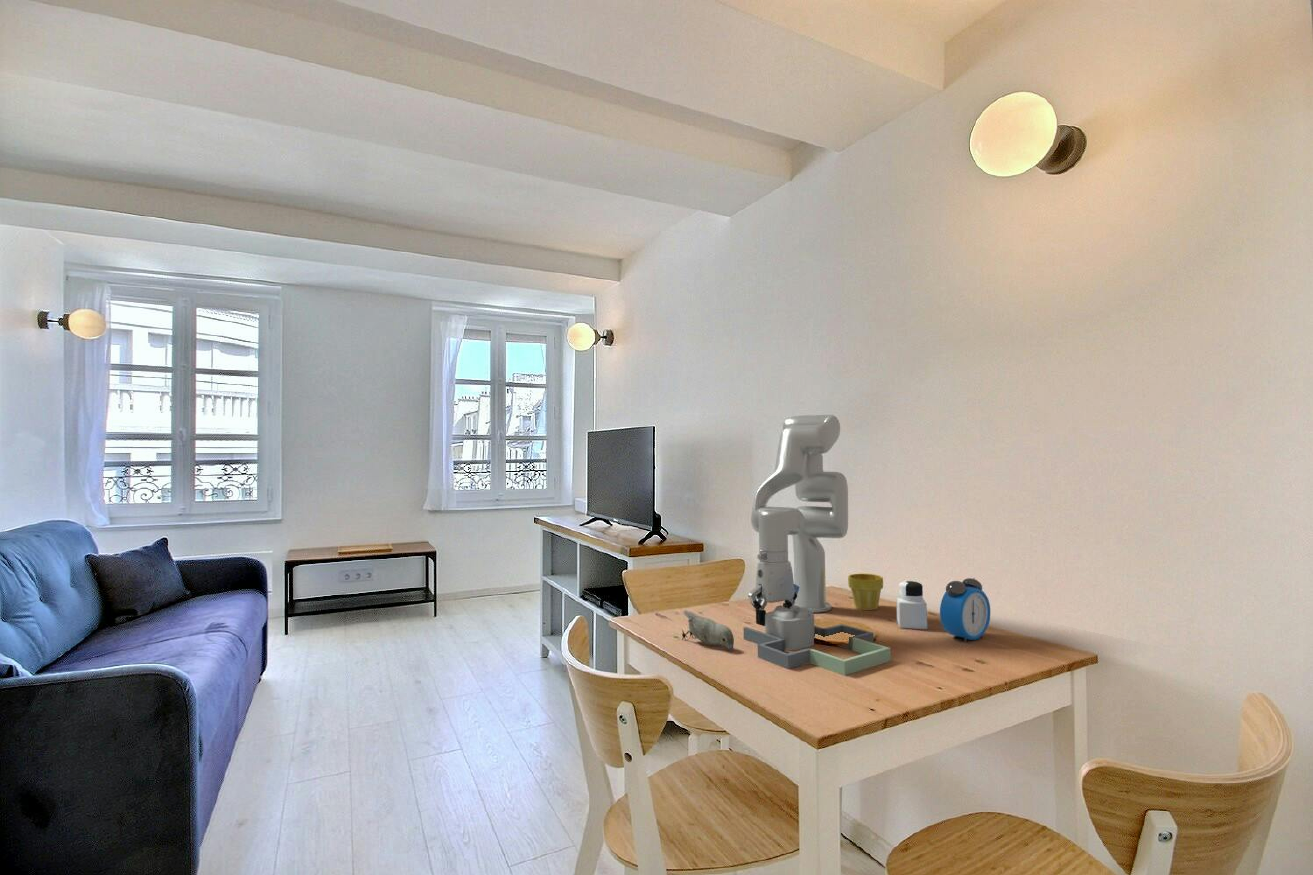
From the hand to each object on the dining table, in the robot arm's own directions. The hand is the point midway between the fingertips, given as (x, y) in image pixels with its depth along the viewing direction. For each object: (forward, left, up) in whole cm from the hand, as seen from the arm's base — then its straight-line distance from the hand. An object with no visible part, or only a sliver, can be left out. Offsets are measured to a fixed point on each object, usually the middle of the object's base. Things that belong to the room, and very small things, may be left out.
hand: (774, 621), depth 165 cm
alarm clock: (+29, +39, -4) cm, 49 cm away
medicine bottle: (+14, +38, -4) cm, 41 cm away
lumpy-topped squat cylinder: (+6, +1, -4) cm, 7 cm away
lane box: (+13, 0, -4) cm, 14 cm away
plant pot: (-6, +44, -4) cm, 45 cm away
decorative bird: (-5, -18, -4) cm, 19 cm away
